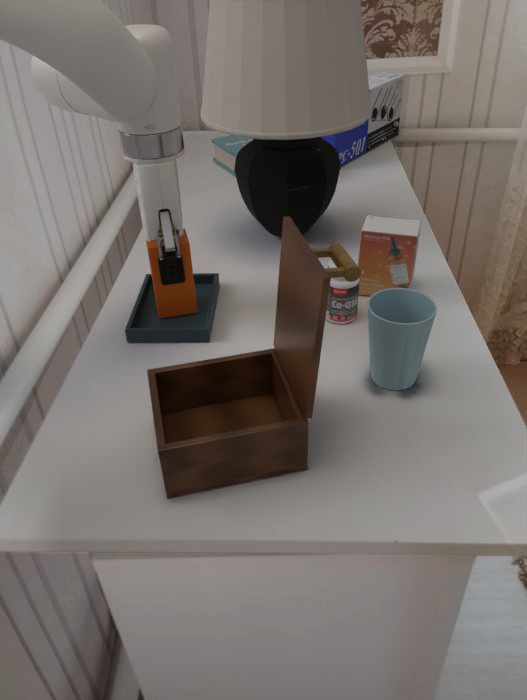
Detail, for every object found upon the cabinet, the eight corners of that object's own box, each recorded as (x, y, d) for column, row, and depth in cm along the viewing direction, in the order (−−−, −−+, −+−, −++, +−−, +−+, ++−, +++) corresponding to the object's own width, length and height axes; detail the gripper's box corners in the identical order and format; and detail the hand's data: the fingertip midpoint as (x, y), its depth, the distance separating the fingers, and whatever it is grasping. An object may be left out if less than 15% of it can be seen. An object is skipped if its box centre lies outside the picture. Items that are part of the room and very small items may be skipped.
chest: (167, 499, 60) (157, 451, 55) (155, 415, 69) (146, 369, 65) (308, 469, 62) (308, 422, 58) (277, 393, 72) (276, 347, 68)
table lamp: (203, 270, 97) (172, -19, 73) (218, 203, 118) (198, -37, 94) (372, 268, 95) (397, -28, 72) (356, 200, 117) (371, -44, 93)
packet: (159, 318, 84) (147, 248, 78) (156, 302, 88) (144, 233, 81) (197, 312, 85) (189, 242, 79) (193, 296, 89) (185, 228, 82)
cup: (351, 384, 73) (356, 312, 66) (375, 351, 78) (382, 281, 72) (411, 404, 69) (423, 330, 63) (432, 368, 75) (445, 297, 68)
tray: (209, 342, 81) (207, 329, 79) (127, 342, 81) (124, 330, 80) (219, 284, 93) (218, 272, 92) (148, 285, 93) (146, 273, 92)
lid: (323, 278, 49) (381, 274, 50) (283, 216, 59) (332, 214, 60) (305, 419, 58) (355, 413, 59) (273, 345, 67) (316, 340, 69)
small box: (354, 295, 89) (359, 230, 83) (361, 277, 93) (365, 213, 87) (409, 302, 87) (418, 236, 81) (413, 283, 91) (422, 219, 85)
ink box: (334, 171, 130) (337, 103, 122) (309, 165, 134) (310, 98, 125) (400, 134, 149) (406, 73, 140) (376, 130, 152) (381, 70, 144)
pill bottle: (330, 327, 83) (332, 274, 78) (318, 309, 86) (319, 257, 81) (362, 321, 83) (366, 268, 78) (349, 304, 87) (352, 252, 82)
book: (213, 161, 138) (211, 139, 135) (274, 148, 144) (273, 126, 141) (259, 193, 122) (258, 168, 119) (325, 177, 128) (326, 153, 125)
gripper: (117, 125, 78) (139, 250, 89) (124, 168, 65) (149, 309, 76) (175, 119, 80) (189, 243, 91) (192, 160, 66) (207, 300, 77)
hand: (171, 272), depth 83 cm, fingers closed on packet, 4 cm apart
